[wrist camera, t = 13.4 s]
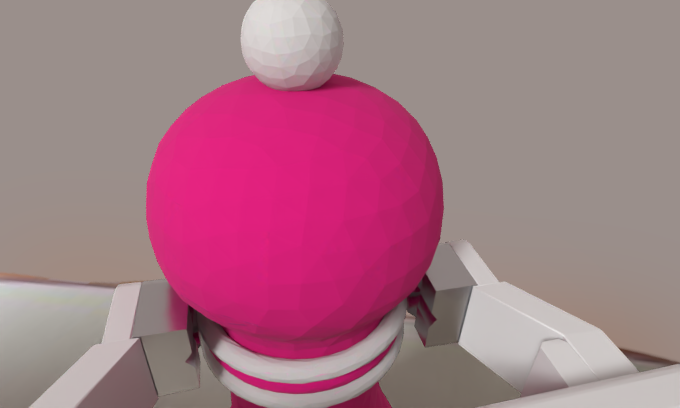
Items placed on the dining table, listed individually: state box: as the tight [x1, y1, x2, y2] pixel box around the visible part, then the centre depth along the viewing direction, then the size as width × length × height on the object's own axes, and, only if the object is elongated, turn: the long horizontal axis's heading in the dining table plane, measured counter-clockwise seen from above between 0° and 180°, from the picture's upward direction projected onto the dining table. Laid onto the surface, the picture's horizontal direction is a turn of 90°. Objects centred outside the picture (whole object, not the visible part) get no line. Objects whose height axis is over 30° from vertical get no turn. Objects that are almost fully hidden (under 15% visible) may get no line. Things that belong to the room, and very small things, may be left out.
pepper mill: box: [146, 0, 444, 408], centre depth 13 cm, size 7×7×20 cm
